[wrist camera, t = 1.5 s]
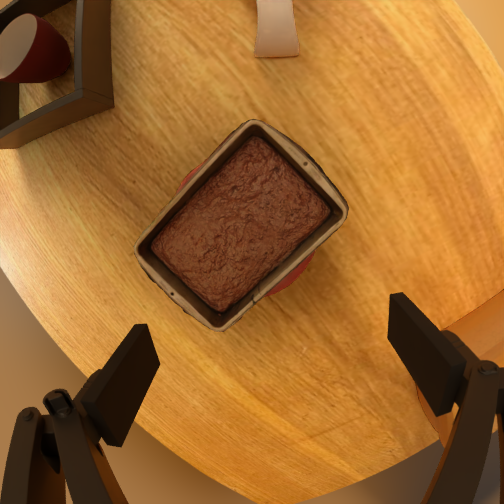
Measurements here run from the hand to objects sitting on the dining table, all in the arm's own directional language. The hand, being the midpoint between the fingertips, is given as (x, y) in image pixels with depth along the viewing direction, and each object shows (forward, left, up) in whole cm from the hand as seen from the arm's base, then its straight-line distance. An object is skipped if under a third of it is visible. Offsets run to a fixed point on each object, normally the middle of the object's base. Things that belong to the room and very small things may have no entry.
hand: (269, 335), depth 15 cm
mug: (-29, -23, -18) cm, 41 cm away
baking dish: (-3, -2, -18) cm, 19 cm away
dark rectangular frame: (-29, -23, -18) cm, 41 cm away
